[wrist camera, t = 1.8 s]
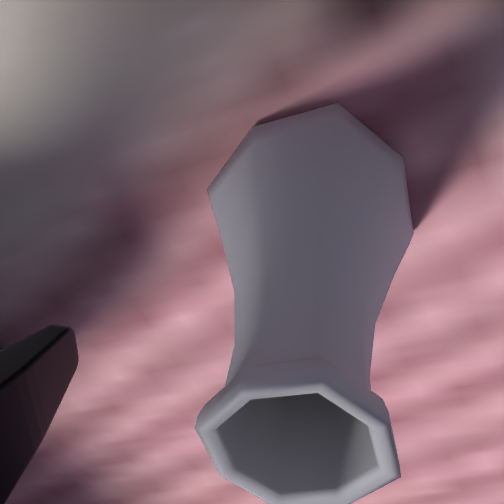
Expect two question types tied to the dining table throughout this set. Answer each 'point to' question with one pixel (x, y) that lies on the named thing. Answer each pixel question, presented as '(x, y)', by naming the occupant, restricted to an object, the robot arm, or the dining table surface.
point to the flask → (307, 308)
